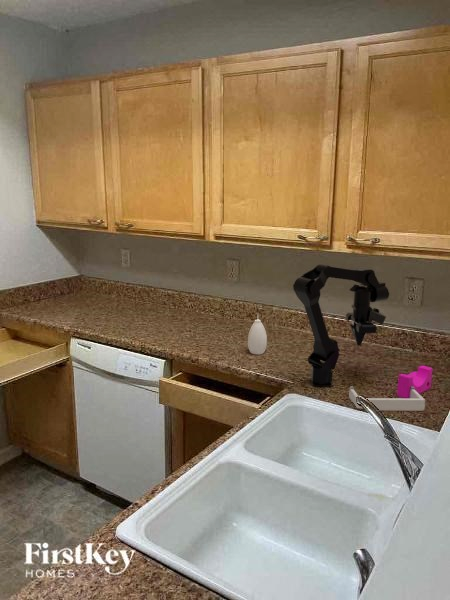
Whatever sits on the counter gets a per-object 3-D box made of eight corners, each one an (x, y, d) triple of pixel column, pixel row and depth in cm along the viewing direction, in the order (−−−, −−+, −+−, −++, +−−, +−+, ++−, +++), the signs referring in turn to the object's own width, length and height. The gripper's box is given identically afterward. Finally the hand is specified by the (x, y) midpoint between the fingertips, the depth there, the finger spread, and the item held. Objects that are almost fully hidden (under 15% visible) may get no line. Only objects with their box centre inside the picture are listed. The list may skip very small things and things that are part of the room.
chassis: (356, 410, 143) (357, 397, 142) (348, 398, 152) (349, 386, 151) (424, 410, 143) (425, 398, 143) (412, 398, 152) (413, 386, 152)
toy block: (413, 383, 166) (415, 363, 164) (430, 388, 161) (432, 368, 159) (390, 393, 157) (391, 372, 155) (407, 399, 152) (409, 378, 150)
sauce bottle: (250, 351, 198) (251, 310, 194) (268, 354, 195) (269, 312, 192) (245, 357, 191) (245, 314, 187) (263, 359, 188) (264, 316, 185)
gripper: (393, 309, 156) (390, 353, 159) (375, 298, 174) (372, 338, 178) (360, 309, 156) (357, 353, 159) (346, 297, 174) (343, 338, 178)
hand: (358, 345), depth 168 cm, fingers closed
